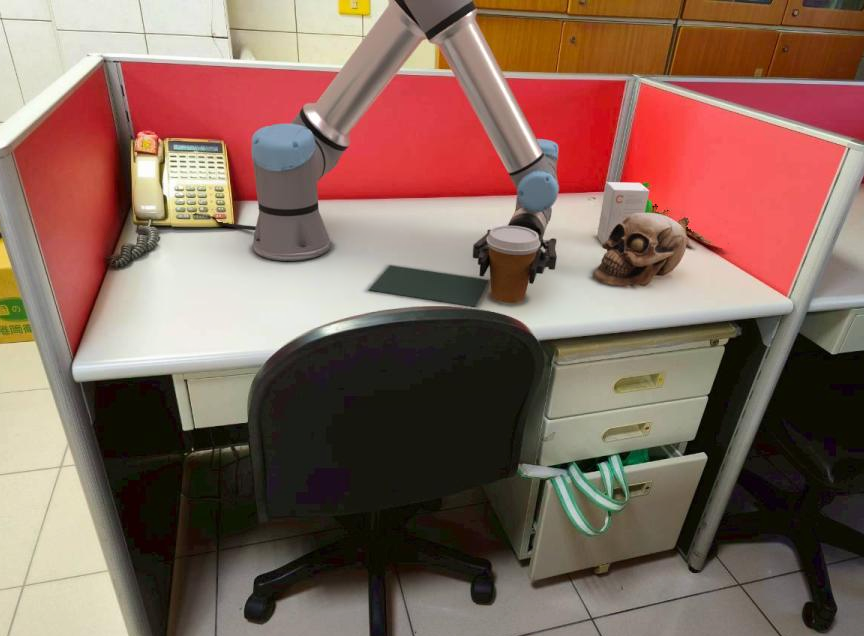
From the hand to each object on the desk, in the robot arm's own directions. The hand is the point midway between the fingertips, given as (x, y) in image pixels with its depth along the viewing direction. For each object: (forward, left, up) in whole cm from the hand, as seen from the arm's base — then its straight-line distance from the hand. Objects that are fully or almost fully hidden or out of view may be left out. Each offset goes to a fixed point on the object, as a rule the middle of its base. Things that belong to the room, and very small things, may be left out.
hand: (506, 272), depth 108 cm
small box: (+19, +43, -7) cm, 47 cm away
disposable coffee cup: (0, +5, -7) cm, 8 cm away
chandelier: (+25, +71, -7) cm, 75 cm away
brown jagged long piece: (+37, +51, -7) cm, 63 cm away
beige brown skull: (+23, +25, -7) cm, 35 cm away
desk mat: (-15, +5, -7) cm, 17 cm away
